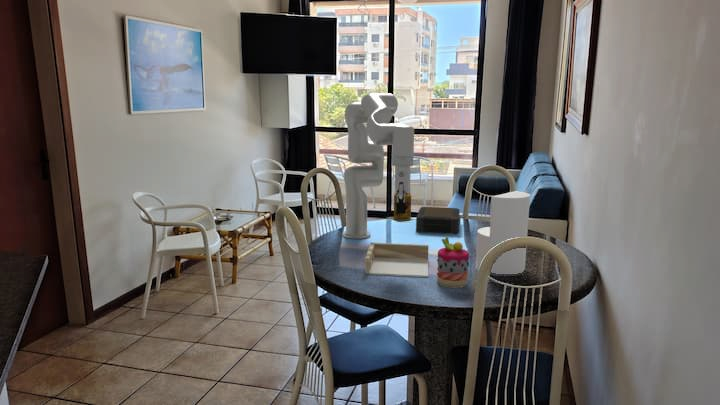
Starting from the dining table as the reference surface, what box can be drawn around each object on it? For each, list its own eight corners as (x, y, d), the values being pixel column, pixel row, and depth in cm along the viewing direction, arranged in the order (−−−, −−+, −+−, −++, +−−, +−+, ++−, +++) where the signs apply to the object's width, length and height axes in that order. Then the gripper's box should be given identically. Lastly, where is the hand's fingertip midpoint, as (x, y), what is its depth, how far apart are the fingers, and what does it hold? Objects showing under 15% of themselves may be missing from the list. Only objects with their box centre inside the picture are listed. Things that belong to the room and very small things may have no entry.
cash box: (459, 235, 236) (460, 218, 234) (415, 232, 239) (416, 216, 238) (460, 223, 260) (460, 208, 258) (420, 220, 264) (420, 206, 262)
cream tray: (370, 257, 200) (371, 242, 199) (427, 260, 197) (428, 245, 196) (364, 274, 180) (365, 257, 179) (428, 277, 178) (428, 260, 177)
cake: (468, 278, 177) (470, 236, 174) (467, 289, 167) (469, 244, 164) (437, 276, 179) (439, 234, 176) (435, 286, 169) (436, 242, 166)
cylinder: (533, 269, 187) (539, 193, 182) (509, 280, 175) (514, 200, 170) (491, 259, 199) (495, 187, 194) (466, 269, 187) (470, 193, 182)
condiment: (400, 222, 179) (401, 188, 176) (385, 218, 186) (386, 185, 183) (416, 220, 183) (417, 187, 180) (401, 215, 190) (402, 183, 187)
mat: (370, 257, 200) (371, 256, 200) (427, 260, 197) (427, 258, 197) (364, 274, 180) (364, 272, 180) (428, 277, 178) (428, 275, 178)
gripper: (412, 164, 170) (411, 217, 174) (414, 158, 187) (412, 207, 191) (390, 163, 171) (389, 216, 175) (393, 158, 188) (392, 206, 192)
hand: (401, 211), depth 183 cm, fingers closed on condiment, 6 cm apart
